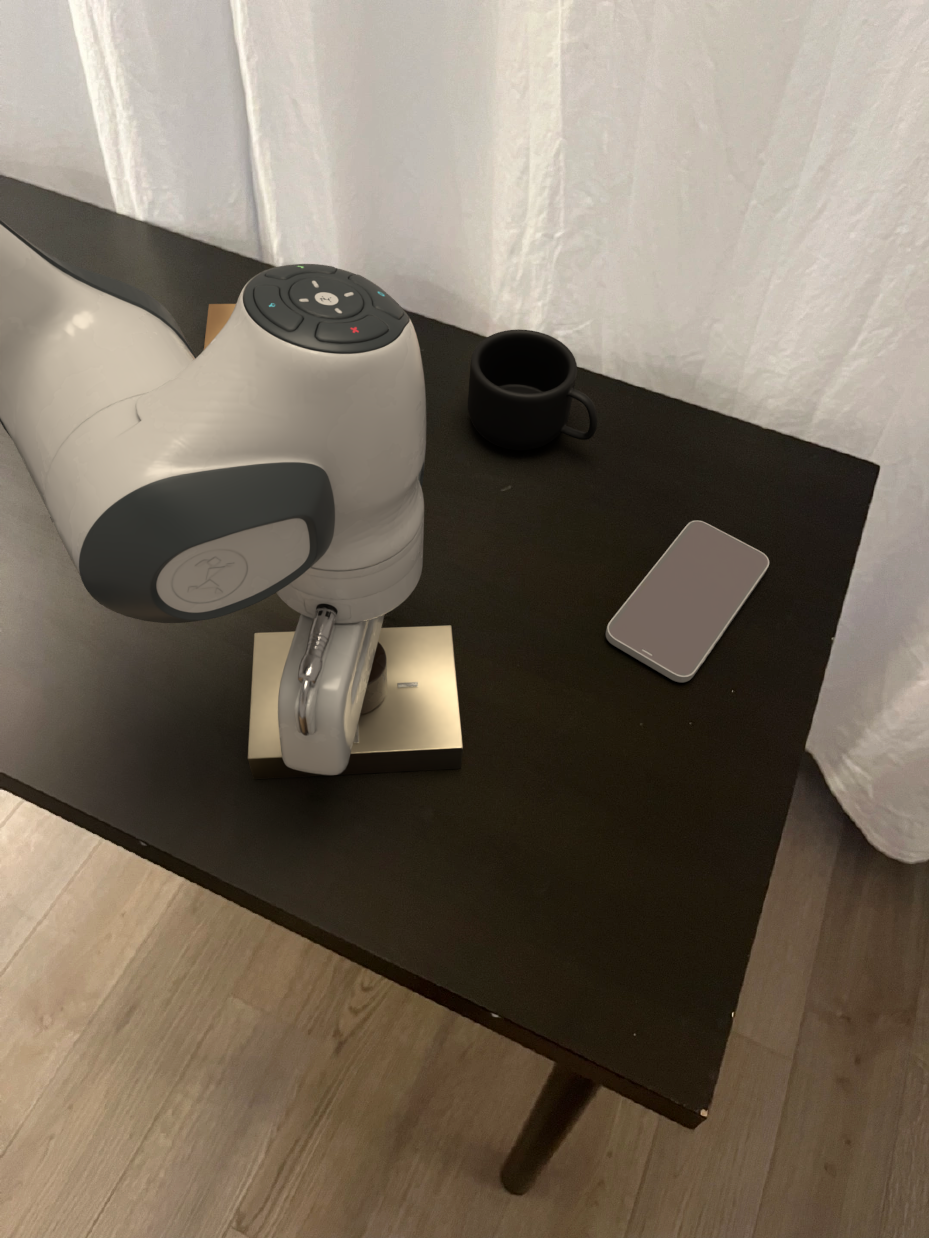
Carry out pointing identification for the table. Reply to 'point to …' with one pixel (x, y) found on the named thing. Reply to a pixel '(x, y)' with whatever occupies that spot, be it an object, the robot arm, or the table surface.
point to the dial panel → (391, 733)
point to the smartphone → (687, 600)
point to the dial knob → (376, 681)
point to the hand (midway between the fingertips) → (354, 678)
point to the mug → (524, 390)
